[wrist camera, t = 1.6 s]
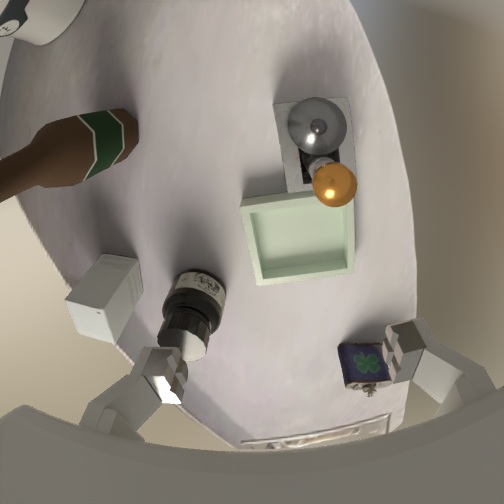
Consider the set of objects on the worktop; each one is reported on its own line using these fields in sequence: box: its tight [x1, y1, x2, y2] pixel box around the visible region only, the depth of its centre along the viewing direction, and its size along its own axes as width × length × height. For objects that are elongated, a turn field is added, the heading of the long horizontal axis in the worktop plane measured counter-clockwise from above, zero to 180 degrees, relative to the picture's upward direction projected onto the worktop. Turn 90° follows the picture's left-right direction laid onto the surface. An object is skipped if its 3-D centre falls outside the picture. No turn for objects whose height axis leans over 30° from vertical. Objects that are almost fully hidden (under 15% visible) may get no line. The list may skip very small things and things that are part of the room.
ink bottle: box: [157, 269, 226, 361], centre depth 39 cm, size 10×9×12 cm
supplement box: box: [65, 254, 143, 344], centre depth 38 cm, size 7×7×13 cm
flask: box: [338, 343, 392, 397], centre depth 45 cm, size 10×3×12 cm, turn 84°
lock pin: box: [302, 152, 357, 207], centre depth 27 cm, size 4×4×12 cm
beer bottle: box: [0, 109, 138, 203], centre depth 21 cm, size 8×8×24 cm
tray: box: [240, 190, 355, 286], centre depth 36 cm, size 12×14×3 cm
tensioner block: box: [273, 97, 357, 193], centre depth 28 cm, size 10×8×7 cm
